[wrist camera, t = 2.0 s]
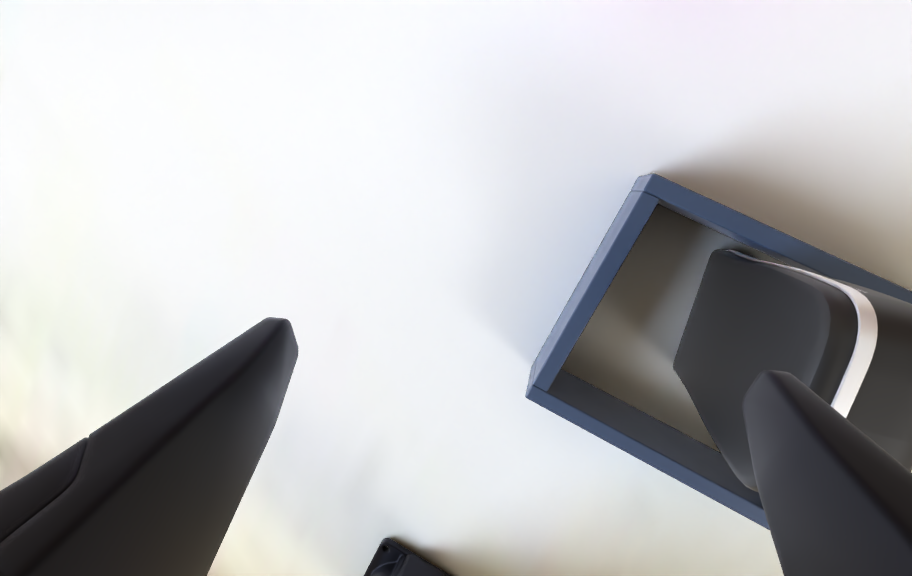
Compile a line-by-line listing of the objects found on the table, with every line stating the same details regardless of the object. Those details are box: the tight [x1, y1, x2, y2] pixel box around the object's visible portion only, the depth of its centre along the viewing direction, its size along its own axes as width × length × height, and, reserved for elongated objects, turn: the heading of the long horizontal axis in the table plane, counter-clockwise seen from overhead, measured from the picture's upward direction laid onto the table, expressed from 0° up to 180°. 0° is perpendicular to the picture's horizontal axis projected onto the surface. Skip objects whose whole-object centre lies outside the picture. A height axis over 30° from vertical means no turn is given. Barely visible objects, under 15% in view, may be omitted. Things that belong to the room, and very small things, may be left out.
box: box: [525, 173, 912, 530], centre depth 21 cm, size 12×15×4 cm
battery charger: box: [673, 250, 912, 493], centre depth 17 cm, size 7×4×11 cm, turn 169°
